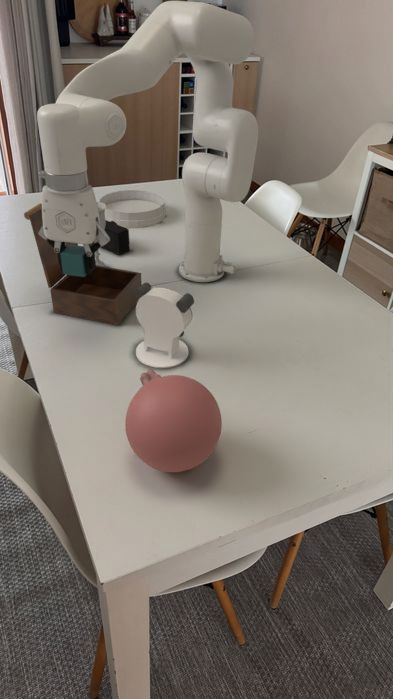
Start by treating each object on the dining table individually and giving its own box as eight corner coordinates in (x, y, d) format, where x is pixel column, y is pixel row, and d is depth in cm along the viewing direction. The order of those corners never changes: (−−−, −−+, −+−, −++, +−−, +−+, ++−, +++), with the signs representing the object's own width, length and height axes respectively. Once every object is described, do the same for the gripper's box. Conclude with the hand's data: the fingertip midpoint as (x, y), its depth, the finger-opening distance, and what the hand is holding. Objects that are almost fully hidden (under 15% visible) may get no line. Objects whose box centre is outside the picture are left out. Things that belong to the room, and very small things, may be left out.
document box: (141, 294, 130) (141, 272, 126) (117, 325, 118) (115, 302, 114) (83, 284, 133) (80, 262, 129) (53, 312, 121) (50, 289, 118)
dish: (163, 229, 164) (162, 214, 161) (94, 226, 164) (93, 211, 161) (167, 204, 182) (166, 191, 179) (105, 202, 182) (104, 188, 179)
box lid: (66, 192, 119) (46, 192, 121) (31, 214, 108) (9, 214, 109) (81, 260, 129) (63, 259, 131) (51, 288, 117) (31, 286, 119)
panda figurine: (199, 346, 112) (202, 286, 103) (177, 375, 104) (178, 312, 95) (151, 332, 116) (150, 273, 107) (126, 359, 107) (122, 297, 99)
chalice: (105, 277, 136) (100, 213, 126) (81, 274, 137) (74, 210, 127) (114, 265, 142) (110, 203, 132) (91, 263, 143) (85, 200, 133)
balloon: (192, 400, 97) (195, 334, 88) (232, 479, 82) (240, 409, 73) (113, 417, 93) (107, 349, 84) (140, 503, 78) (136, 432, 69)
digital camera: (133, 250, 151) (132, 227, 147) (119, 255, 147) (118, 233, 143) (109, 240, 156) (107, 218, 152) (95, 245, 153) (93, 223, 149)
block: (92, 267, 104) (90, 246, 102) (84, 277, 101) (82, 256, 98) (72, 264, 105) (69, 244, 102) (63, 274, 102) (60, 253, 99)
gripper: (14, 181, 90) (30, 273, 101) (104, 190, 88) (111, 283, 99) (33, 169, 96) (47, 257, 107) (118, 177, 94) (123, 266, 105)
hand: (77, 269), depth 103 cm, fingers closed on block, 4 cm apart
